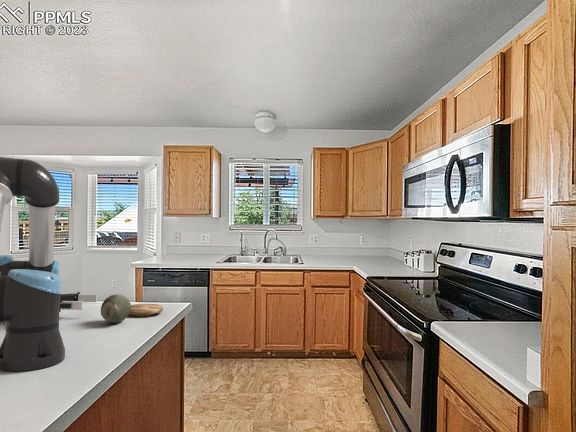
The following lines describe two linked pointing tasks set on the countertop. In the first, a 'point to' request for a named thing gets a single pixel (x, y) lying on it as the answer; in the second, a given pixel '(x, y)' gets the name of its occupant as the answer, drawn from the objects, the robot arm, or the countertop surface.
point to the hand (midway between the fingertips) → (90, 301)
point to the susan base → (143, 315)
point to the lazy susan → (145, 309)
